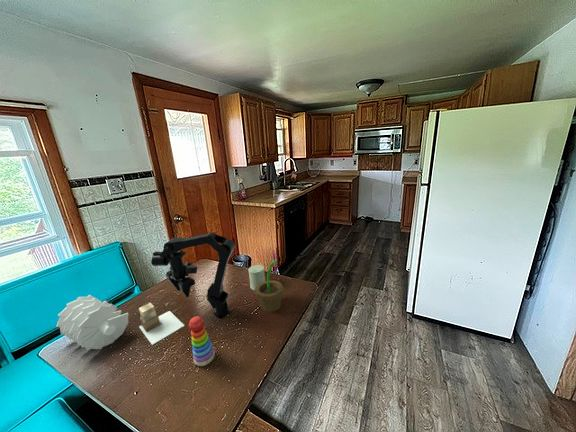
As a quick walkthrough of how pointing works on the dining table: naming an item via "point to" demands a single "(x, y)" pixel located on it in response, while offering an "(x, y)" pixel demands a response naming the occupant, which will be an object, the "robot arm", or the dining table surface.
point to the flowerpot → (269, 292)
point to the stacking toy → (200, 342)
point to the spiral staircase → (92, 322)
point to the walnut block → (150, 323)
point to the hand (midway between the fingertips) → (183, 293)
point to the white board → (163, 328)
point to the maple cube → (147, 312)
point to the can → (256, 275)
